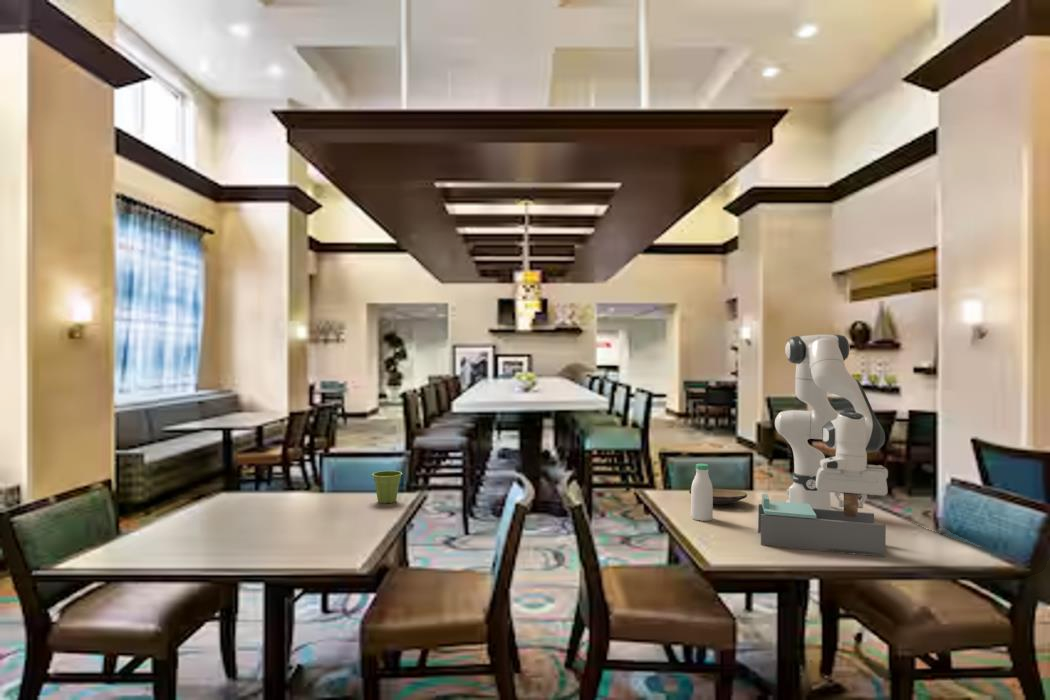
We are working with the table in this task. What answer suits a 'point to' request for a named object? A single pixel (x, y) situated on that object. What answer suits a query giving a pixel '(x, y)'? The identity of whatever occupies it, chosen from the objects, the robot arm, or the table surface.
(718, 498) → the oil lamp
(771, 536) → the housing
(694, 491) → the milk bottle
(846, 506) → the tan rounded cylinder
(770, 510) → the lid
